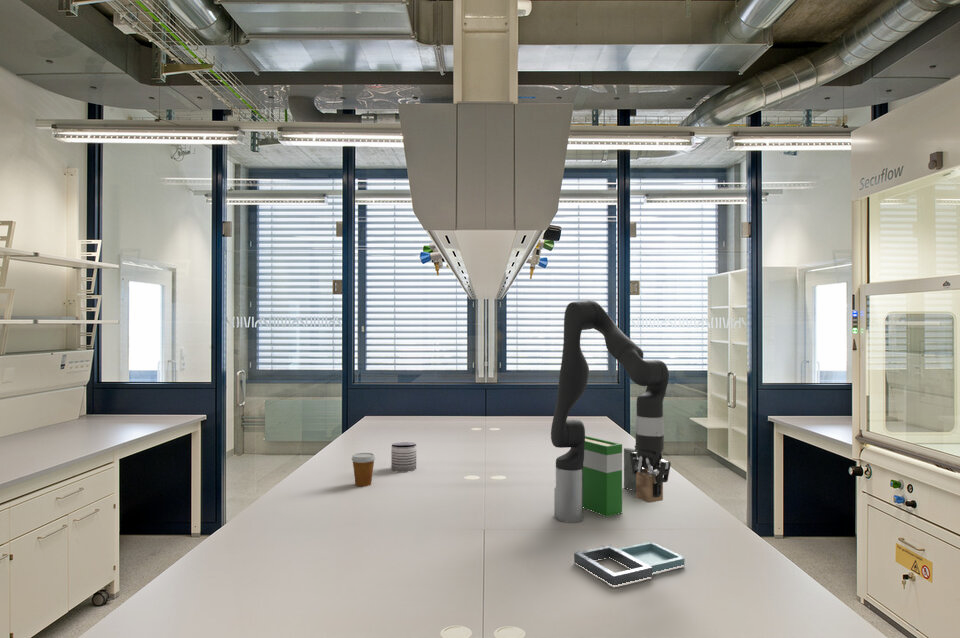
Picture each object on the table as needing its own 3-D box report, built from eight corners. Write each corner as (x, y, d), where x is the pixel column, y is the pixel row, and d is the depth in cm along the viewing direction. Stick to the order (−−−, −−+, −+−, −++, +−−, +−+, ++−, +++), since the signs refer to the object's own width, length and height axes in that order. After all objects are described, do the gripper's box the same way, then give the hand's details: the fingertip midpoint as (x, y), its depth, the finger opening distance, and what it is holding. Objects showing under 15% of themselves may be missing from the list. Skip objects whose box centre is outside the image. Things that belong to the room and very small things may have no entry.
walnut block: (636, 497, 163) (636, 472, 163) (650, 495, 165) (650, 470, 165) (648, 502, 158) (648, 476, 158) (662, 500, 160) (662, 474, 160)
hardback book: (571, 503, 214) (571, 438, 214) (586, 500, 218) (586, 436, 218) (606, 517, 199) (606, 446, 199) (622, 513, 203) (622, 444, 203)
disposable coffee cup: (372, 487, 234) (372, 457, 234) (348, 487, 234) (349, 457, 234) (377, 481, 243) (377, 452, 243) (354, 481, 243) (354, 452, 244)
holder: (574, 563, 160) (574, 552, 160) (610, 555, 166) (610, 545, 166) (613, 588, 145) (613, 576, 145) (652, 579, 151) (652, 567, 151)
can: (386, 471, 260) (386, 444, 260) (397, 465, 271) (397, 439, 271) (410, 473, 257) (410, 446, 257) (420, 467, 268) (420, 441, 268)
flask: (629, 486, 237) (629, 442, 237) (655, 495, 224) (655, 448, 225) (622, 487, 235) (622, 442, 235) (647, 497, 223) (647, 449, 223)
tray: (614, 557, 164) (614, 548, 164) (651, 549, 170) (651, 541, 170) (647, 576, 152) (647, 566, 152) (686, 567, 158) (686, 557, 158)
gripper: (621, 429, 166) (621, 489, 166) (657, 438, 153) (657, 503, 153) (642, 427, 170) (642, 486, 169) (679, 435, 157) (679, 499, 157)
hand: (649, 493), depth 161 cm, fingers closed on walnut block, 5 cm apart
